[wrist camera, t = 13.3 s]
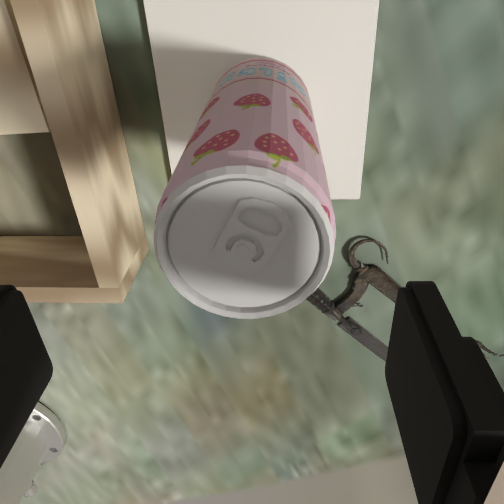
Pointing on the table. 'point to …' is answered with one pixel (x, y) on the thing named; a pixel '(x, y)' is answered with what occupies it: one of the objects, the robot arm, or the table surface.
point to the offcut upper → (17, 81)
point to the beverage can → (249, 198)
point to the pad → (274, 47)
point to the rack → (78, 164)
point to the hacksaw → (358, 289)
